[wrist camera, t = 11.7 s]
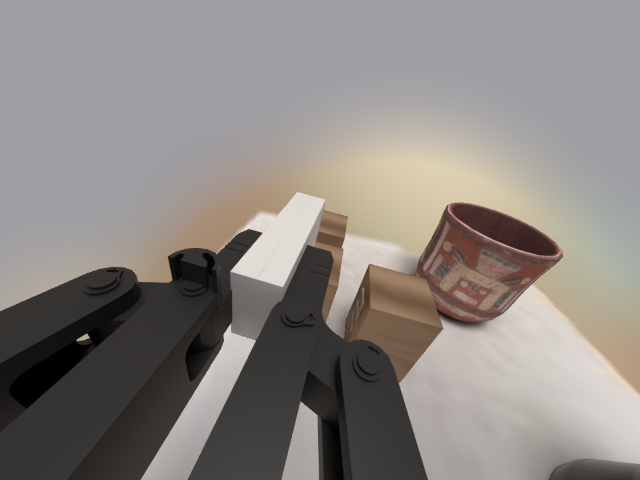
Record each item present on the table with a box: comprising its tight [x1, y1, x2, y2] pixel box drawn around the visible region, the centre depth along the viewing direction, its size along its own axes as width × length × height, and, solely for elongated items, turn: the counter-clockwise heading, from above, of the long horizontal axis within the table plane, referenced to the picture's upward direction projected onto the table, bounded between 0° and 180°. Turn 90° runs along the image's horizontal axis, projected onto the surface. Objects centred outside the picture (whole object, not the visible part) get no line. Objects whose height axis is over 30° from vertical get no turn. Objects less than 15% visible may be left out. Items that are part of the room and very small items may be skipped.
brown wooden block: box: [314, 242, 343, 323], centre depth 33 cm, size 8×8×12 cm
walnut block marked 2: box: [344, 264, 443, 383], centre depth 31 cm, size 8×8×12 cm
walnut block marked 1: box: [316, 210, 348, 248], centre depth 42 cm, size 8×8×12 cm
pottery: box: [416, 203, 563, 322], centre depth 43 cm, size 18×18×18 cm
